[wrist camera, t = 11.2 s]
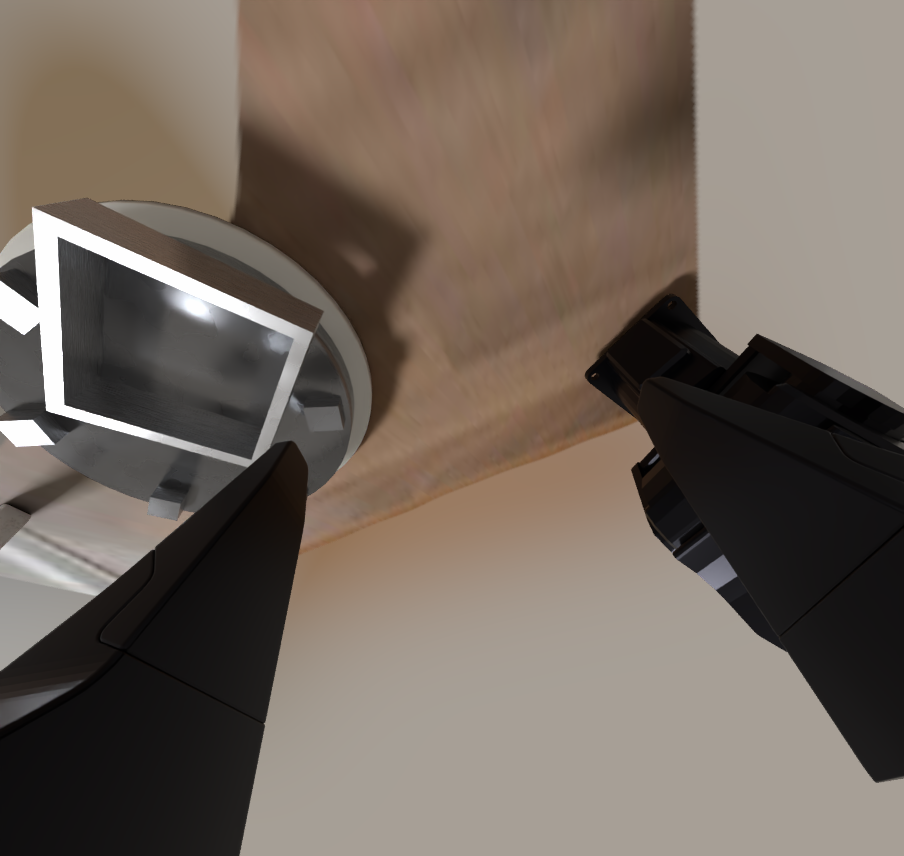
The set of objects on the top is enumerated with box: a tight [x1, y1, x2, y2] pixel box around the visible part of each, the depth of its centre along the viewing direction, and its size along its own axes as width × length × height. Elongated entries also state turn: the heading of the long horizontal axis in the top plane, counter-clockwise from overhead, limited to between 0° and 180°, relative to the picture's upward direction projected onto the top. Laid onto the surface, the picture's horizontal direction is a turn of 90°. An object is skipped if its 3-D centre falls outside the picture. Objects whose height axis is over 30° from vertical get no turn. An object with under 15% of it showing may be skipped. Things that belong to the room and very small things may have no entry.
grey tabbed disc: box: [0, 198, 355, 521], centre depth 19 cm, size 17×17×4 cm
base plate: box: [0, 200, 372, 471], centre depth 21 cm, size 19×19×1 cm
